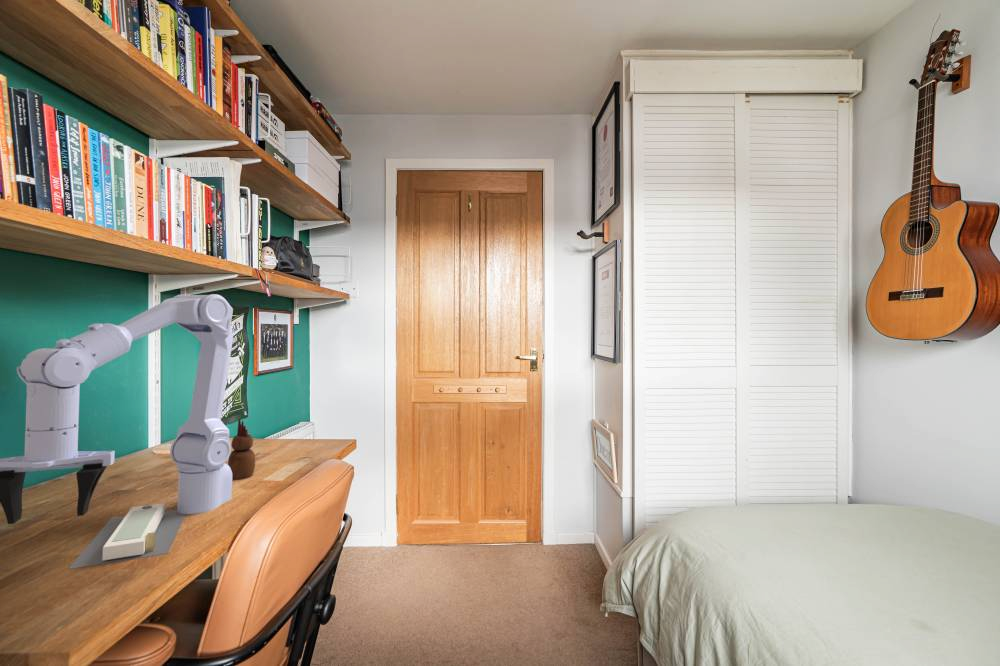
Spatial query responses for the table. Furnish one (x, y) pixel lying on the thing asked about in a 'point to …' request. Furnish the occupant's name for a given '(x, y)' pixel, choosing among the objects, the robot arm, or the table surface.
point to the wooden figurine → (242, 454)
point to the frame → (133, 532)
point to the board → (155, 541)
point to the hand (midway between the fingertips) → (49, 517)
